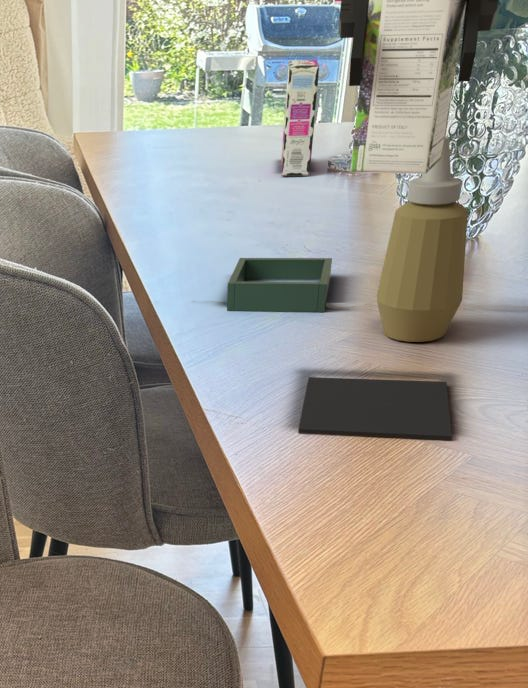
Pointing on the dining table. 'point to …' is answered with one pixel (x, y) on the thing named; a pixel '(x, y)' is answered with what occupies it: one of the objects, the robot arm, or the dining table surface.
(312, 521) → the dining table surface
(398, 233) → the squeeze bottle
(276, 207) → the dining table surface
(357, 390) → the mat
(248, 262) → the tray
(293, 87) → the candy bar box
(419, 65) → the syrup box
